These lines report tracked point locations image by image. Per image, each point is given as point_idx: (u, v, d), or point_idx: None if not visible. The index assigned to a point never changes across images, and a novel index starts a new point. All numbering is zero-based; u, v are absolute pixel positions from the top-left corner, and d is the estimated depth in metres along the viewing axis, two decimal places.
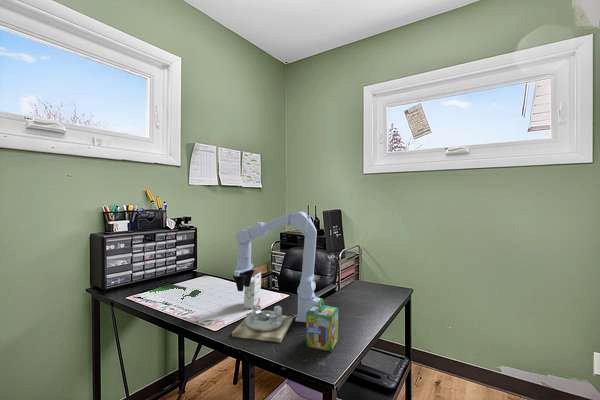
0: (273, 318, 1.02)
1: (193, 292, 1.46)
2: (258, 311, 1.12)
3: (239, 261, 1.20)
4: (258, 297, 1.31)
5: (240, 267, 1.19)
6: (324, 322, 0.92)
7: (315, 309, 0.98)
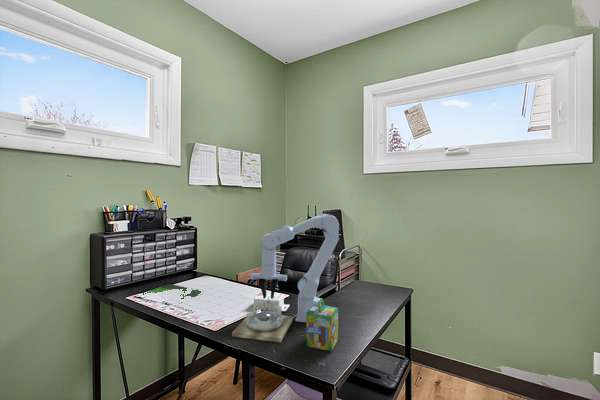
0: (273, 318, 1.02)
1: (193, 292, 1.46)
2: (258, 311, 1.12)
3: None
4: None
5: None
6: (324, 322, 0.92)
7: (315, 309, 0.98)
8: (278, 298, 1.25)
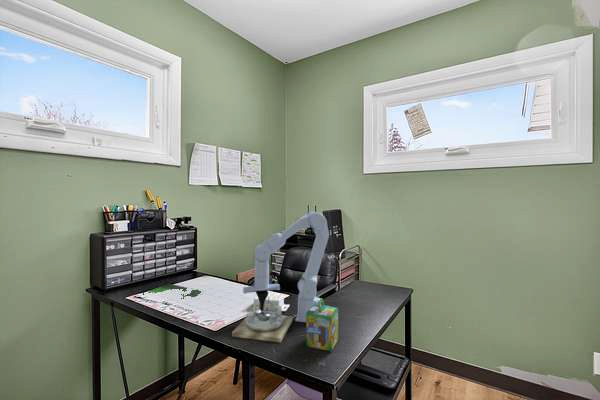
0: (273, 318, 1.02)
1: (193, 292, 1.46)
2: (258, 311, 1.12)
3: None
4: None
5: (254, 285, 1.13)
6: (324, 322, 0.92)
7: (315, 309, 0.98)
8: (278, 298, 1.25)
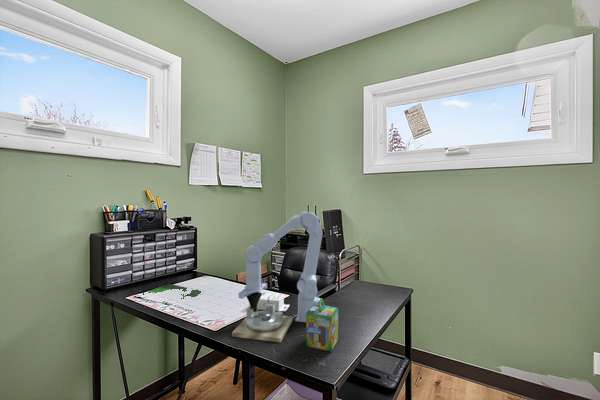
0: (281, 314, 1.05)
1: (193, 292, 1.46)
2: (253, 313, 1.10)
3: (247, 281, 1.09)
4: None
5: (248, 288, 1.09)
6: (324, 322, 0.92)
7: (315, 309, 0.98)
8: (278, 298, 1.25)
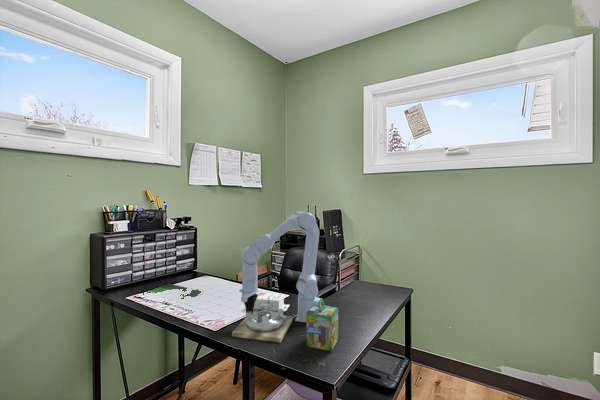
0: None
1: (193, 292, 1.46)
2: (251, 316, 1.07)
3: (245, 284, 1.06)
4: None
5: (246, 290, 1.06)
6: (324, 322, 0.92)
7: (315, 309, 0.98)
8: (278, 298, 1.25)
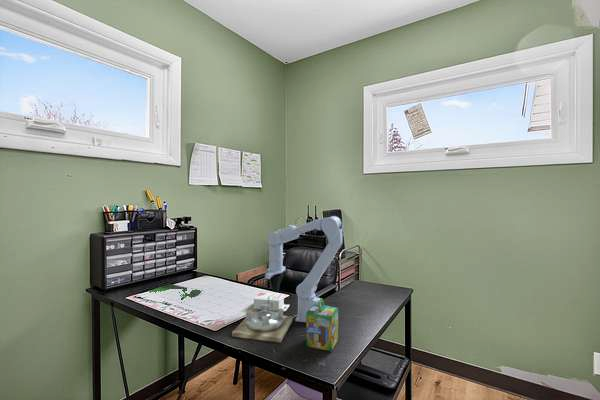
0: None
1: (193, 292, 1.46)
2: (251, 316, 1.07)
3: (271, 263, 1.19)
4: None
5: (271, 270, 1.19)
6: (324, 322, 0.92)
7: (315, 309, 0.98)
8: (278, 298, 1.25)
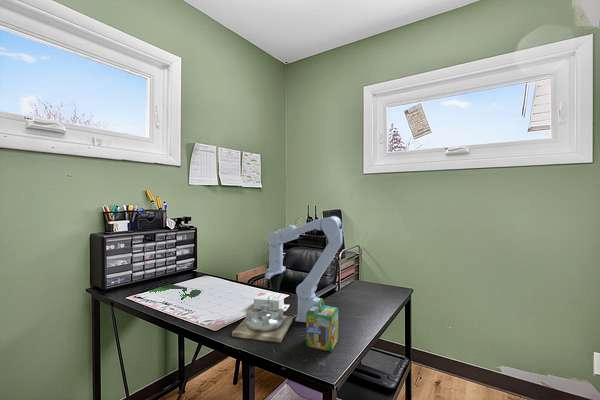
0: None
1: (193, 292, 1.46)
2: (251, 316, 1.07)
3: (271, 263, 1.19)
4: None
5: (271, 270, 1.19)
6: (324, 322, 0.92)
7: (315, 309, 0.98)
8: (278, 298, 1.25)
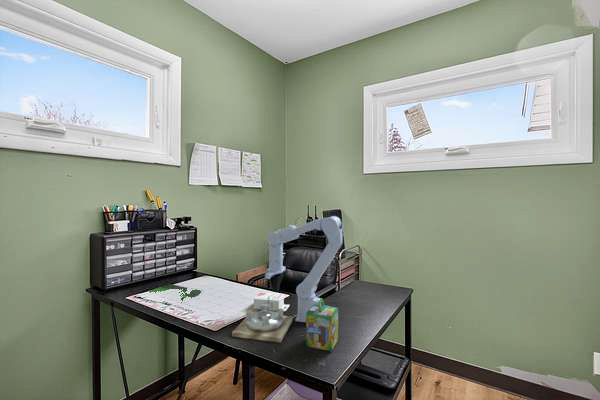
0: None
1: (193, 292, 1.46)
2: (251, 316, 1.07)
3: (271, 263, 1.19)
4: None
5: (271, 270, 1.19)
6: (324, 322, 0.92)
7: (315, 309, 0.98)
8: (278, 298, 1.25)
